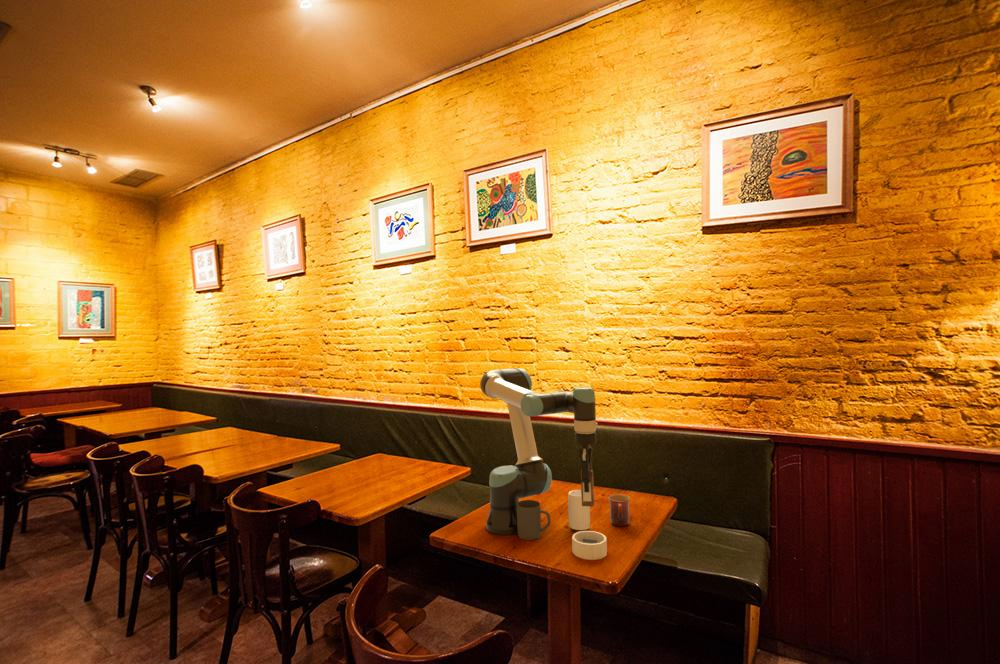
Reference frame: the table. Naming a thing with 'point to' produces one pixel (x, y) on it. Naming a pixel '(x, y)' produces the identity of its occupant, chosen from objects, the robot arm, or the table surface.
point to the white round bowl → (589, 545)
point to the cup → (578, 511)
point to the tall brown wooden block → (591, 503)
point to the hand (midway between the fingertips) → (587, 499)
